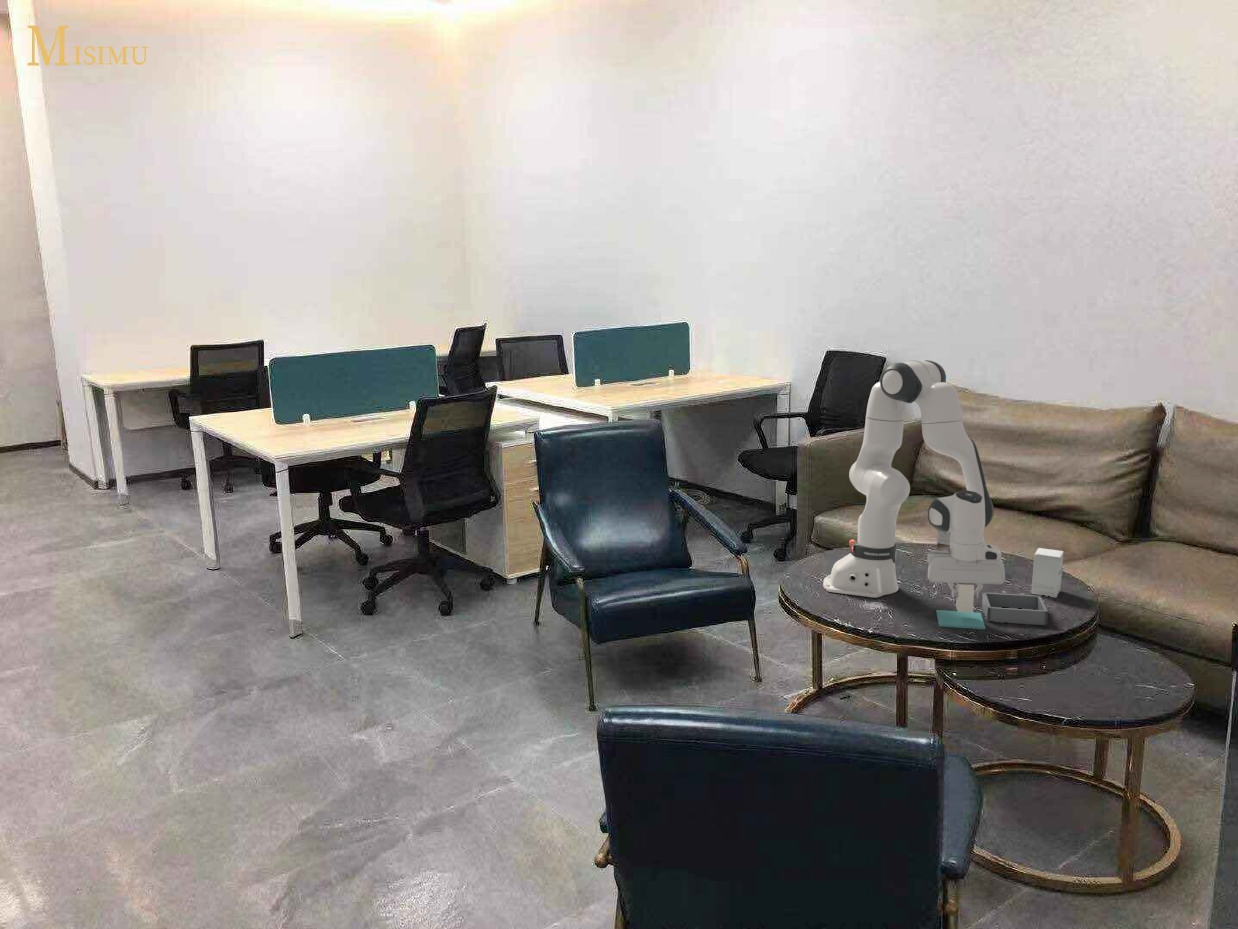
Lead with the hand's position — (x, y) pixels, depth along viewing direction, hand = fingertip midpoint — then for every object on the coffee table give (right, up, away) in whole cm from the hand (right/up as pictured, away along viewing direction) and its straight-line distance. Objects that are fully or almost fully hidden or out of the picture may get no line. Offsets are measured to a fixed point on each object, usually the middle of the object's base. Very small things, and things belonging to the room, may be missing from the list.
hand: (964, 597), depth 276 cm
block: (0, -4, +1) cm, 4 cm away
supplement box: (+32, -2, +21) cm, 38 cm away
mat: (-1, -7, +1) cm, 7 cm away
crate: (+15, -6, +4) cm, 17 cm away
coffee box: (+13, +4, +49) cm, 51 cm away
